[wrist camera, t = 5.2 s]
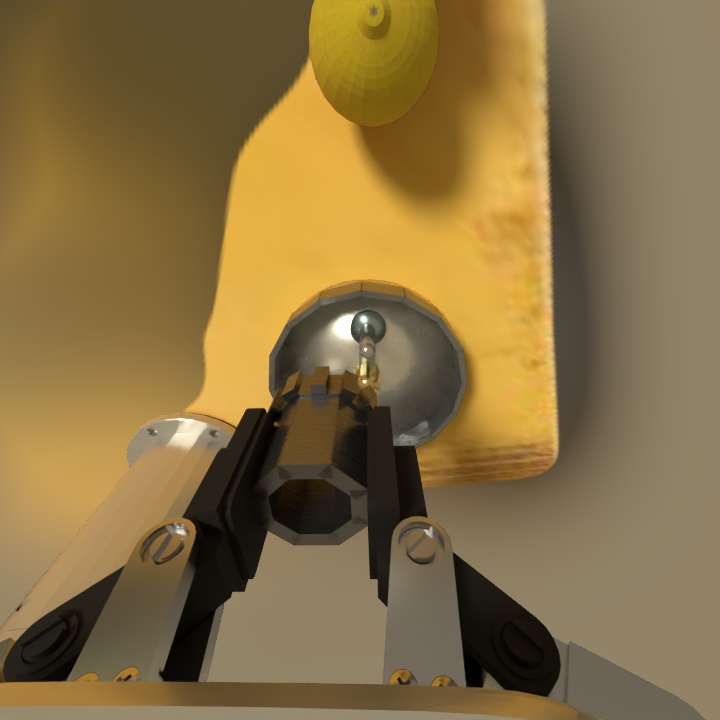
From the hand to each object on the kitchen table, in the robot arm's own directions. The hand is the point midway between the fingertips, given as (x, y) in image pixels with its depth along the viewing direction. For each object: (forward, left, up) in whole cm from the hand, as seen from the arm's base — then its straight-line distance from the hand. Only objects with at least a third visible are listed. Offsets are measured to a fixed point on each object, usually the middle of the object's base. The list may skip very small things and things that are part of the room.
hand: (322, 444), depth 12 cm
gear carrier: (-4, -4, -15) cm, 16 cm away
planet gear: (0, 0, -2) cm, 2 cm away
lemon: (+12, +5, -15) cm, 20 cm away
